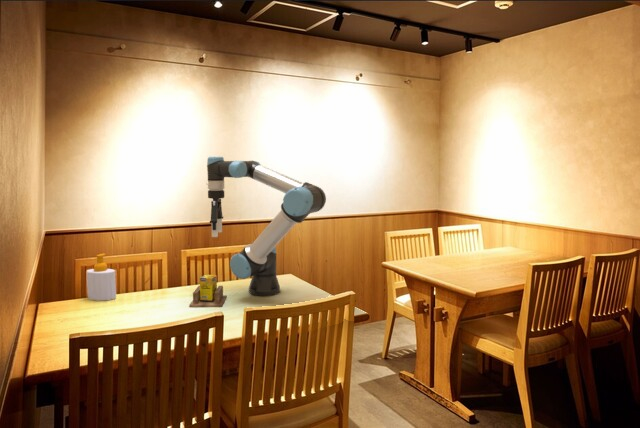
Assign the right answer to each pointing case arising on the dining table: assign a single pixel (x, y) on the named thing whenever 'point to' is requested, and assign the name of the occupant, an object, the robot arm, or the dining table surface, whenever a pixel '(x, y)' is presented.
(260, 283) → the robot arm
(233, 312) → the dining table surface
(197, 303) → the slot block
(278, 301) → the dining table surface
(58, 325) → the dining table surface
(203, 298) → the supplement box
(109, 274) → the soap bottle
